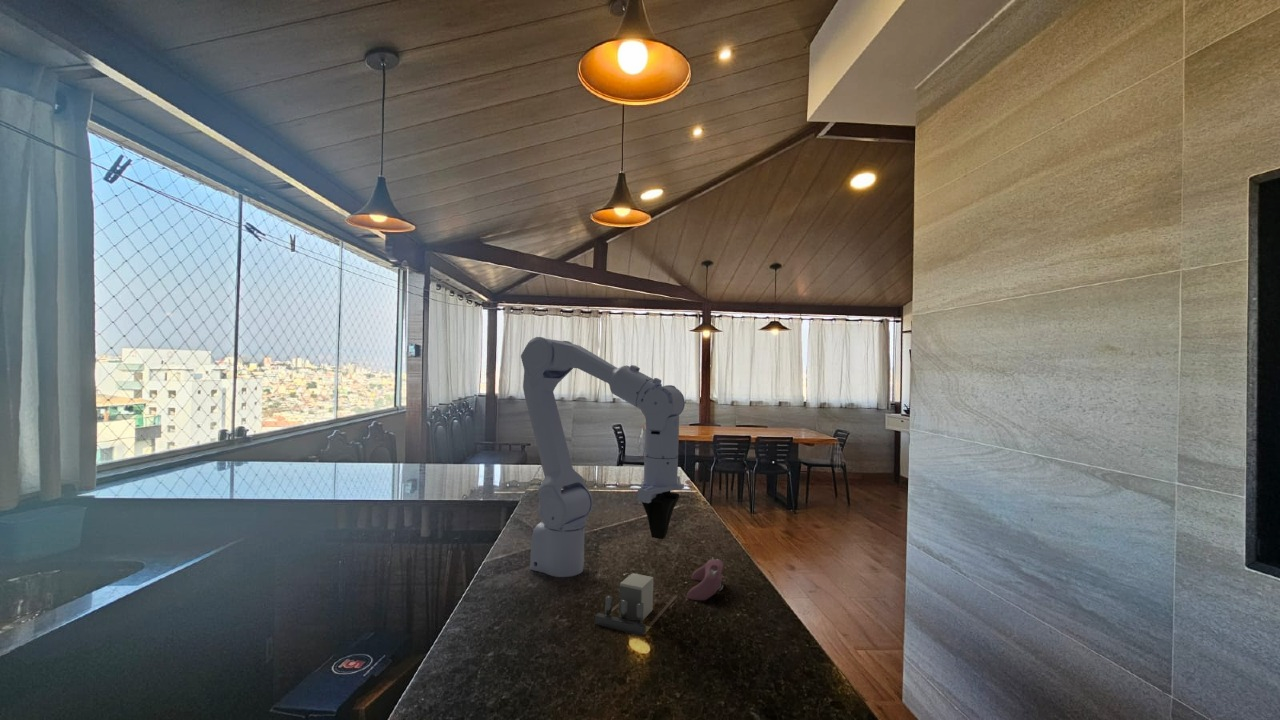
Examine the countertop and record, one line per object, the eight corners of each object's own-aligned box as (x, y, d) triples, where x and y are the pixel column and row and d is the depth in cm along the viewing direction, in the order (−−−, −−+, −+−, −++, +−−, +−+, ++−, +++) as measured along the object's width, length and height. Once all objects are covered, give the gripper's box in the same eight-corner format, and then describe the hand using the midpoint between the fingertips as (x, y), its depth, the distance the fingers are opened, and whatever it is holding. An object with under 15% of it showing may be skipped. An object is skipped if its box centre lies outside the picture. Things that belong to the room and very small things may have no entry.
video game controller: (708, 617, 82) (729, 580, 81) (683, 601, 83) (704, 564, 82) (711, 592, 91) (729, 559, 91) (689, 578, 92) (707, 545, 92)
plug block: (618, 617, 75) (619, 583, 75) (631, 605, 80) (632, 573, 80) (640, 622, 74) (641, 588, 74) (652, 610, 78) (653, 577, 78)
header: (594, 624, 73) (595, 599, 73) (601, 617, 75) (602, 593, 75) (642, 636, 70) (643, 610, 70) (648, 629, 72) (649, 604, 72)
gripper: (668, 464, 78) (665, 554, 77) (696, 453, 91) (694, 529, 90) (626, 460, 80) (623, 546, 80) (660, 450, 94) (657, 524, 93)
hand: (658, 537), depth 85 cm, fingers closed
